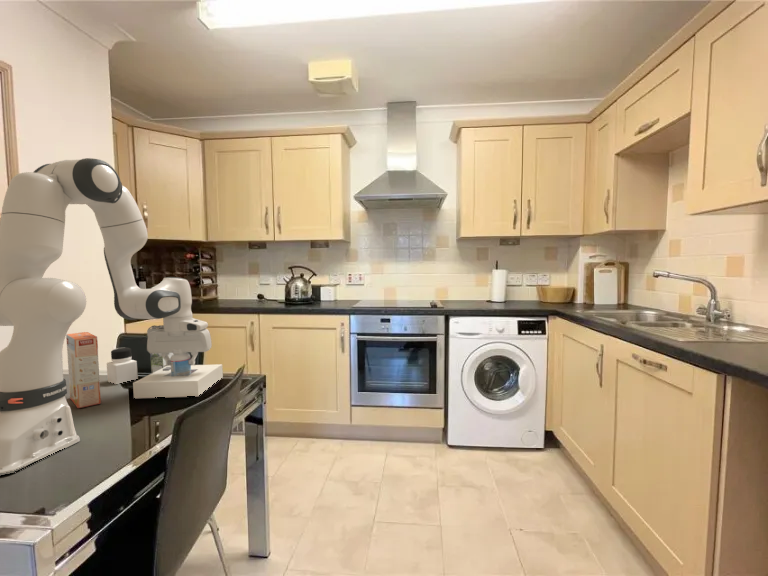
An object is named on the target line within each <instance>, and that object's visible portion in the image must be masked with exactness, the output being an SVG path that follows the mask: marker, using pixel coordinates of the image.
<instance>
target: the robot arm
mask: <svg viewBox="0 0 768 576" xmlns="http://www.w3.org/2000/svg"><path fill="white" fill-rule="evenodd" d="M69 205H87V206H88V207H89V208H90V209H91V210H92V212H93V213H94V216H95V220H96V221H97V225H98V227H99V229H100V232H101V235H102V238H103V239H102V240H103V243H104V244H103V245H104V246H103V255H104V261H105V264H106V268H107V271H108V275H109V279H110V282H111V286H112V289H113V296H114V297H113V304H114V309H115V311H116V313H117V315H118V316H120V317H121V318H123V319H126V320H159V319H161V320H162V321H163V324H159V325H151V326H150V327H148V328H147V331H146V336H147V342H146V351H147V352H148V353H149V354H150V353H162V357H163V358H164V360H165V361H166V366H171V363H170V358H169V356H168V355H169V353H173V350H177V349H181V351H182V352H187V353H190V356H191V357H190V360H188V362H189V363H188V364H189V365H196V358H197V356H198V354H199V353H206V352H208V351H210V350H211V348H212V346H213V345H212V336H211V333H210V330H209V329H208V327H209V324H208V322H207V321H205V320H201V319H197V318H194V316H193V315H194V314H193V312H192V304H193V298H192V289H191V285H190V283H189V281H188V279H186V278H183V277H178V276H177V277H175V276H166V277H163V279H162V281H160V283H158V284H156V285H154V286H153V287H151V288H141V287H139V286H138V285H137V283H136V280H135V275H134V272H133V268H132V263H131V262H132V261H131V260H132V257H133V255H135V254H136V253H137V252H138V251H140V250H141V249H142V248H144V246H145V245H146V243H147V241H148V239H149V238H148V237H149V236H148V235H149V234H148V229H147V226H146V223H145V220H144V218H143V215H142V212H141V210H140V208H139V205H138V204H137V201H136V200H135V198H134V196H133V195H132V194H131V192H130V191H129V189H128V188H127V187H126V186H124V185H123V184H122V181H121V178H120V176H119V174H118V172H117V171H116V170H115V169H114V168H113V166H112V165H111V164H109V163H108V162H107V161H105V160H102V159H100V158H99V159H98V158H91V157H89V158H82V159H64V160H60V161H55V162H53V163H46V164H43V165H41V166H38V167H37V168H36V169H35V170H33V172H32V171H31V172H27V171H26V172H21V173H18V174H16V175H14V176H13V177H12V178H11V179H10V181H9V184H8V186H7V189H6V192H5V195H4V198H3V202H2V207H1V215H0V327H13V331H12V336H11V339H10V340H9V341H10V342H9V343H8V344H7V346H6V347H4V348H2V349H1V350H0V473H6V472H10V471H14V470H16V469H19V468H21V467H23V466H26V465H28V464H30V463H32V462H34V461H37V460H39V459H42V458H44V457H46V456H48V455H50V456H52V455H54V454H56V453H55V452H57V451H59V450H61V451H63V450H65V449H67V448H69V447H71V446H73V445H75V444H77V443H79V442H80V441H81V438H80V436H79V435H78V434H77V431H76V429H75V425H74V423H75V422H74V420H73V415H72V409H71V406H70V405H69V403H68V401H67V399H66V395H67V393H68V390H67V389H68V384H67V380H66V378H64V366H63V365H64V363H63V347H64V346H63V345H64V343H65V339H66V335H67V334H68V331H69V329H70V327H71V326H72V325H73V323H74V322H76V320H78V319H79V318H80V317H81V316H82V315H83V313H84V312H85V309H86V306H87V298H86V293H85V292H84V290H83V288H82V287H81V286H80V285H78V283H76V282H73V281H70V280H67V279H66V280H65V279H61V278H55V277H54V278H53V277H44V274H45V273H46V271H47V269H48V268H49V267H50V266H51V265H52V264H53V263H54V262H56V261H57V260H59V259H60V258H61V257H62V254H63V250H64V248H63V247H64V238H65V226H66V211H67V208H68V206H69ZM64 448H65V449H64ZM62 449H63V450H62ZM59 452H60V451H59ZM53 453H54V454H53ZM57 453H58V452H57ZM51 454H52V455H51ZM48 457H49V456H48ZM46 458H47V457H46ZM44 459H45V458H44ZM42 460H43V459H42Z"/></svg>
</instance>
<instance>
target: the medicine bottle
mask: <svg viewBox="0 0 768 576" xmlns="http://www.w3.org/2000/svg"><path fill="white" fill-rule="evenodd" d="M110 356H111V361H109V362H107V363H106V373H107V377H106V378H107V382H108V383H110V382H111V383H110V384H113V383H114V384H113V385H116V384H118V385H120V384H119V383H122V384H124V383H123V382H126V383H128V382H127V381H130V382H132V381H131V380H134V381H137V380H136V379H138V380H139V373H138V370H139V369H138V361H137V360H134V359H132V348H130V347H118V348H114V349H112V350H111V351H110Z"/></svg>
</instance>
